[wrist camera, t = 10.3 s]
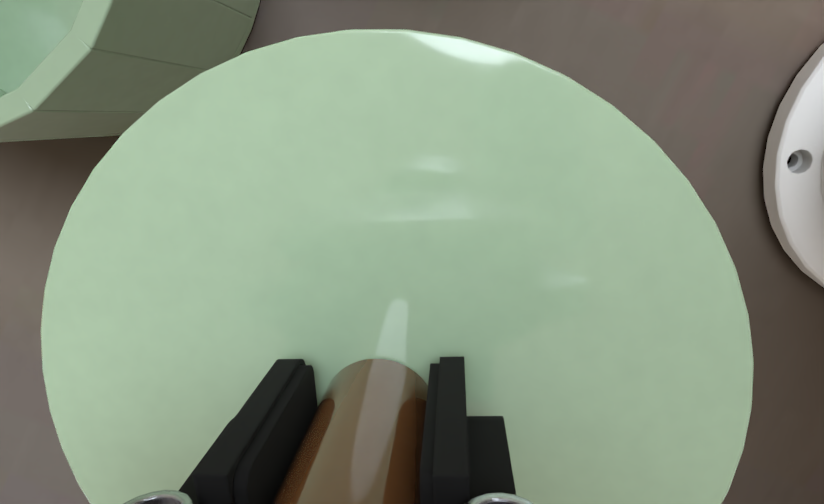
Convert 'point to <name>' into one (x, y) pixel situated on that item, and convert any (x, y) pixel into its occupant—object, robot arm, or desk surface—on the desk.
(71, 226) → the lid
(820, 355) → the desk surface
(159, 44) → the canister
